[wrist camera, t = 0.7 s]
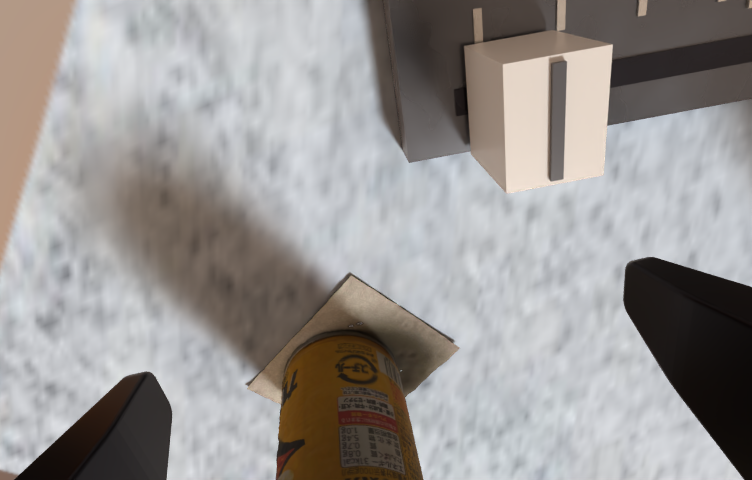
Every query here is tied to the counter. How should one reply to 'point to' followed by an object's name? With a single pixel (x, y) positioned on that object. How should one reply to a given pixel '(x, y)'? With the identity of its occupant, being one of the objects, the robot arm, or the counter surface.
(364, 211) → the counter surface
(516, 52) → the block
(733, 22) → the mixer panel
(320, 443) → the condiment
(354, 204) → the counter surface
